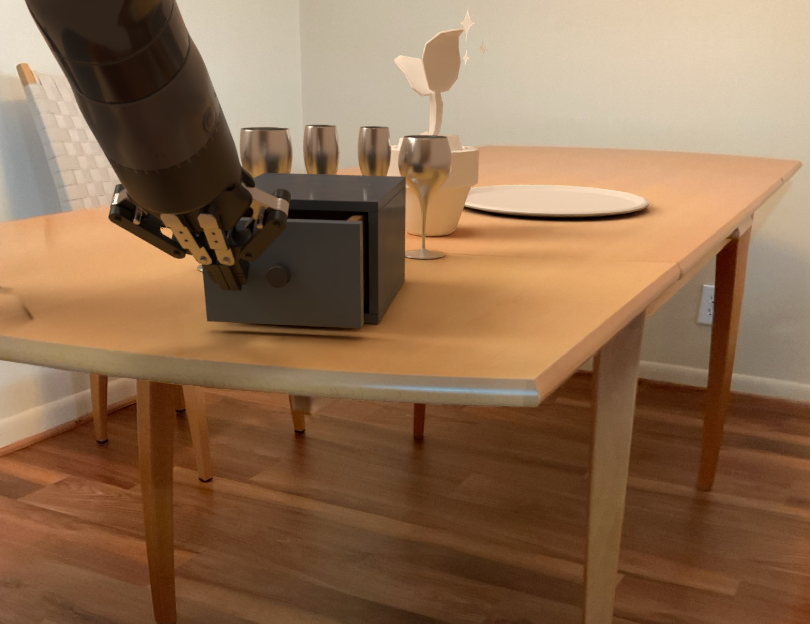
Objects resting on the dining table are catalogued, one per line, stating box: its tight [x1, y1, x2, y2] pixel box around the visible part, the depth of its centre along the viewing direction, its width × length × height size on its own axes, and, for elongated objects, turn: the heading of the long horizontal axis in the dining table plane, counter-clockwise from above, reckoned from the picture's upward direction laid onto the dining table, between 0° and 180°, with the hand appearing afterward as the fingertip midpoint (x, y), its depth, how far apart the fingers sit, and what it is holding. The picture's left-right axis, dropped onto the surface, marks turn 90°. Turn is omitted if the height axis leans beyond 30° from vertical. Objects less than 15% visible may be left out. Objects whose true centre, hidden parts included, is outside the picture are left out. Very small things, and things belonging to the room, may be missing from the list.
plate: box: [464, 184, 650, 219], centre depth 135 cm, size 29×29×1 cm
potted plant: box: [387, 6, 489, 237], centre depth 109 cm, size 13×12×25 cm
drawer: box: [201, 208, 369, 329], centre depth 76 cm, size 17×12×8 cm
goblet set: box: [196, 124, 452, 273], centre depth 95 cm, size 28×6×13 cm, turn 111°
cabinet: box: [249, 173, 406, 325], centre depth 81 cm, size 17×14×10 cm
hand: (233, 280), depth 70 cm, fingers closed
